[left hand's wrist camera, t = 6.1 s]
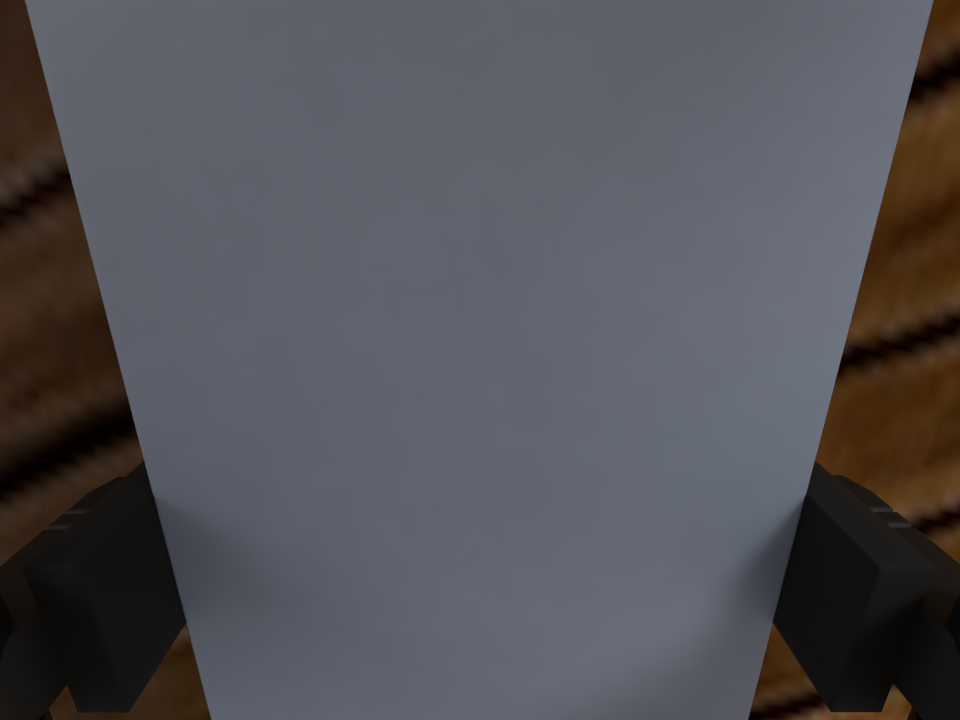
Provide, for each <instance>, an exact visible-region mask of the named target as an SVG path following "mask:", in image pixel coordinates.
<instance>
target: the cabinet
mask: <svg viewBox="0 0 960 720" xmlns="http://www.w3.org/2000/svg"><path fill="white" fill-rule="evenodd" d="M25 2H26V6H27V10H28V14H29V18H30V21H31V25H32V29H33V33H34V37H35V41H36V45H37V48H38V52H39V56H40V60H41V64H42V68H43V72H44V75H45V79H46V83H47V87H48V91H49V95H50V99H51V102H52V106H53V110H54V114H55V118H56V122H57V126H58V130H59V133H60V137H61V141H62V145H63V149H64V153H65V157H66V160H67V164H68V168H69V172H70V176H71V180H72V184H73V187H74V191H75V195H76V199H77V203H78V207H79V211H80V214H81V218H82V222H83V226H84V230H85V234H86V238H87V242H88V245H89V249H90V253H91V257H92V261H93V265H94V269H95V272H96V276H97V280H98V284H99V288H100V292H101V296H102V299H103V303H104V307H105V311H106V315H107V319H108V323H109V326H110V330H111V334H112V338H113V342H114V346H115V350H116V353H117V357H118V361H119V365H120V369H121V373H122V377H123V381H124V384H125V388H126V392H127V396H128V400H129V404H130V408H131V411H132V415H133V419H134V423H135V427H136V431H137V435H138V438H139V442H140V446H141V450H142V454H143V458H144V462H145V465H146V469H147V473H148V477H149V481H150V485H151V489H152V493H153V496H154V500H155V504H156V508H157V512H158V516H159V520H160V523H161V527H162V531H163V535H164V539H165V543H166V547H167V550H168V554H169V558H170V562H171V566H172V570H173V574H174V577H175V581H176V585H177V589H178V593H179V597H180V601H181V605H182V608H183V612H184V616H185V620H186V624H187V628H188V632H189V635H190V639H191V643H192V647H193V651H194V655H195V659H196V662H197V666H198V670H199V674H200V678H201V682H202V686H203V689H204V693H205V697H206V701H207V705H208V709H209V713H210V717H211V720H748V717H749V713H750V710H751V706H752V702H753V698H754V694H755V690H756V686H757V682H758V679H759V675H760V671H761V667H762V663H763V659H764V655H765V651H766V648H767V644H768V640H769V636H770V632H771V628H772V624H773V620H774V616H775V613H776V609H777V605H778V601H779V597H780V593H781V589H782V585H783V582H784V578H785V574H786V570H787V566H788V562H789V558H790V554H791V551H792V547H793V543H794V539H795V535H796V531H797V527H798V523H799V520H800V516H801V512H802V508H803V504H804V500H805V496H806V492H807V489H808V485H809V481H810V477H811V473H812V469H813V465H814V461H815V458H816V454H817V450H818V446H819V442H820V438H821V434H822V430H823V427H824V423H825V419H826V415H827V411H828V407H829V403H830V399H831V395H832V392H833V388H834V384H835V380H836V376H837V372H838V368H839V364H840V361H841V357H842V353H843V349H844V345H845V341H846V337H847V333H848V330H849V326H850V322H851V318H852V314H853V310H854V306H855V302H856V299H857V295H858V291H859V287H860V283H861V279H862V275H863V271H864V268H865V264H866V260H867V256H868V252H869V248H870V244H871V240H872V237H873V233H874V229H875V225H876V221H877V217H878V213H879V209H880V205H881V202H882V198H883V194H884V190H885V186H886V182H887V178H888V174H889V171H890V167H891V163H892V159H893V155H894V151H895V147H896V143H897V140H898V136H899V132H900V128H901V124H902V120H903V116H904V112H905V109H906V105H907V101H908V97H909V93H910V89H911V85H912V81H913V78H914V74H915V70H916V66H917V62H918V58H919V54H920V50H921V47H922V43H923V39H924V35H925V31H926V27H927V23H928V19H929V15H930V12H931V8H932V4H933V0H25Z"/></svg>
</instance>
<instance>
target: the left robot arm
mask: <svg viewBox="0 0 960 720" xmlns="http://www.w3.org/2000/svg"><path fill="white" fill-rule="evenodd" d="M773 623H774V625H775V626H776V628H777V629H778V631H779V632H780V634H781V635H782V637H783V639H784V640H785V642H786V643H787V645H788V646H789V648H790V649H791V651H792V653H793V654H794V656H795V657H796V659H797V660H798V662H799V663H800V665H801V666H802V668H803V670H804V671H805V673H806V674H807V676H808V677H809V679H810V680H811V682H812V684H813V685H814V687H815V688H816V690H817V691H818V693H819V694H820V696H821V698H822V699H823V701H824V702H825V704H826V705H827V707H828V708H829V710H830V712H882V709H883V706H884V704H885V701H886V699H887V696H888V693H889V691H890V688H891V686H892V683H894V684H895V685H896V687H897V688H898V689H899V690H900V692H901V693H902V694H903V695H904V697H905V698H906V699H907V700H908V702H909V703H910V704H911V705H912V709H911V711H910V714H909V716H908V718H907V720H960V564H959V563H958V562H956V561H955V560H954V559H953V558H951V557H950V556H949V555H948V554H947V553H945V552H944V551H943V550H942V549H941V548H939V547H938V546H937V545H936V544H935V543H933V542H932V541H931V540H930V539H929V538H927V537H926V536H925V535H924V534H922V533H921V532H920V531H919V530H918V529H916V528H912V527H911V524H910V523H909V522H908V521H907V520H906V519H904V518H903V517H902V516H901V515H900V514H898V513H897V512H893V509H892V508H891V507H890V506H889V505H887V504H886V503H885V502H884V501H883V500H881V499H880V498H879V497H878V496H877V495H875V494H874V493H873V492H872V491H870V490H869V489H867V488H865V487H863V486H861V485H859V484H857V483H855V482H853V481H851V480H850V479H848V478H846V477H844V476H842V475H831V474H830V473H829V472H828V471H826V470H825V469H824V468H823V467H822V466H821V465H820V464H818V463H817V462H816V461H814V465H813V469H812V473H811V477H810V481H809V485H808V489H807V492H806V496H805V500H804V504H803V508H802V512H801V516H800V520H799V523H798V527H797V531H796V535H795V539H794V543H793V547H792V551H791V554H790V558H789V562H788V566H787V570H786V574H785V578H784V582H783V585H782V589H781V593H780V597H779V601H778V605H777V609H776V613H775V616H774V620H773ZM185 624H186V620H185V616H184V612H183V608H182V605H181V601H180V597H179V593H178V589H177V585H176V581H175V577H174V574H173V570H172V566H171V562H170V558H169V554H168V550H167V547H166V543H165V539H164V535H163V531H162V527H161V523H160V520H159V516H158V512H157V508H156V504H155V500H154V496H153V493H152V489H151V485H150V481H149V477H148V473H147V469H146V465H145V462H144V461H143V462H142V463H141V464H140V465H139V466H138V467H136V468H135V469H134V470H133V471H132V472H131V473H130V474H128V475H127V476H126V477H118V478H116V479H114V480H112V481H110V482H108V483H106V484H104V485H103V486H101V487H99V488H97V489H95V490H93V491H91V492H89V493H88V494H87V495H86V496H84V497H83V498H82V499H81V500H80V501H78V502H77V503H76V504H75V505H74V506H72V507H71V508H70V509H69V510H68V511H67V514H63V515H62V516H60V517H59V518H58V519H57V520H56V521H54V522H53V523H52V524H51V525H50V526H49V529H48V530H44V531H42V532H41V533H40V534H39V535H38V536H36V537H35V538H34V539H33V540H32V541H30V542H29V543H28V544H27V545H26V546H24V547H23V548H22V549H21V550H20V551H18V552H17V553H16V554H15V555H14V556H12V557H11V558H10V559H9V560H8V561H6V562H5V563H4V564H3V565H2V566H0V720H53V719H52V716H51V714H50V711H49V709H48V708H49V707H50V705H51V704H52V703H53V702H54V700H55V699H56V698H57V696H58V695H59V694H60V693H61V691H62V690H63V689H64V688H65V686H66V685H68V688H69V690H70V693H71V695H72V698H73V701H74V703H75V706H76V708H77V711H78V712H129V711H130V709H131V708H132V706H133V704H134V703H135V701H136V700H137V698H138V697H139V695H140V694H141V692H142V690H143V689H144V687H145V686H146V684H147V683H148V681H149V680H150V678H151V676H152V675H153V673H154V672H155V670H156V669H157V667H158V666H159V664H160V662H161V661H162V659H163V658H164V656H165V655H166V653H167V652H168V650H169V649H170V647H171V645H172V644H173V642H174V641H175V639H176V638H177V636H178V635H179V633H180V631H181V630H182V628H183V627H184V625H185Z"/></svg>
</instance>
